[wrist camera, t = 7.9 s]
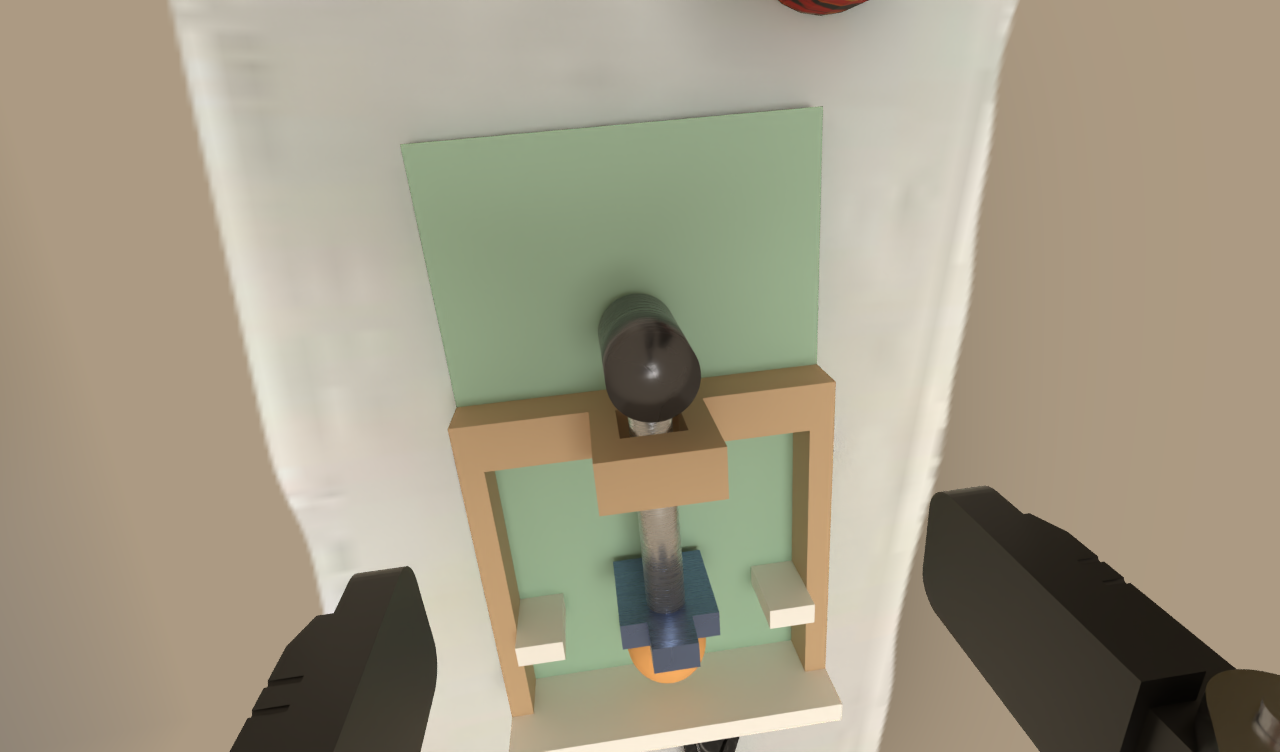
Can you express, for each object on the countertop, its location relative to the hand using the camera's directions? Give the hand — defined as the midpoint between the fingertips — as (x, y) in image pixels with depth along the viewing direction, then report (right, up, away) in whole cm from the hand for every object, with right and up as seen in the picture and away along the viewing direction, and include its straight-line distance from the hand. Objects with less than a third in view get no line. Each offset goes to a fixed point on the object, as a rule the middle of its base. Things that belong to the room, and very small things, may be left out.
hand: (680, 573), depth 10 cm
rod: (0, 0, +17) cm, 17 cm away
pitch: (0, 0, +18) cm, 18 cm away
